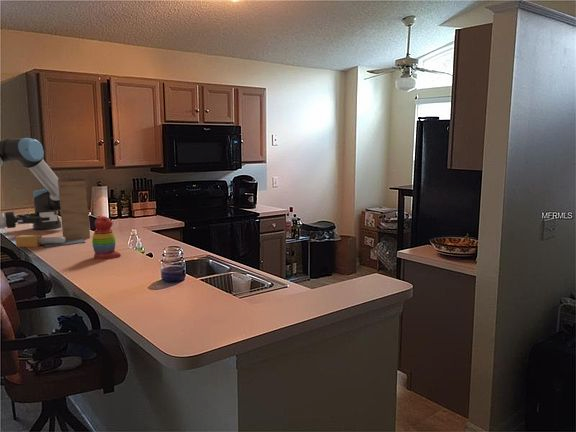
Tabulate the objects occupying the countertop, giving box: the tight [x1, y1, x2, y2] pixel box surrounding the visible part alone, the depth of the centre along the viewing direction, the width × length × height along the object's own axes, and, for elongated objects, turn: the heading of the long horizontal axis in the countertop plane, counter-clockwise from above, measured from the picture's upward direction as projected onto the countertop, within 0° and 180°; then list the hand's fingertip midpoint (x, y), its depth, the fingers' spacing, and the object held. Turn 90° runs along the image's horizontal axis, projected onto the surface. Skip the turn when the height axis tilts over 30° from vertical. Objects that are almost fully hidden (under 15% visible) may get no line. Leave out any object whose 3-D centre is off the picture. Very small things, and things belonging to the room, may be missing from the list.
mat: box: [43, 238, 86, 248], centre depth 236 cm, size 10×18×1 cm, turn 121°
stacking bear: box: [92, 215, 122, 260], centre depth 205 cm, size 11×10×18 cm
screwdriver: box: [15, 234, 65, 248], centre depth 232 cm, size 22×5×5 cm, turn 91°
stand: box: [58, 177, 91, 240], centre depth 245 cm, size 8×12×31 cm, turn 121°
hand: (55, 216), depth 232 cm, fingers open, 13 cm apart
